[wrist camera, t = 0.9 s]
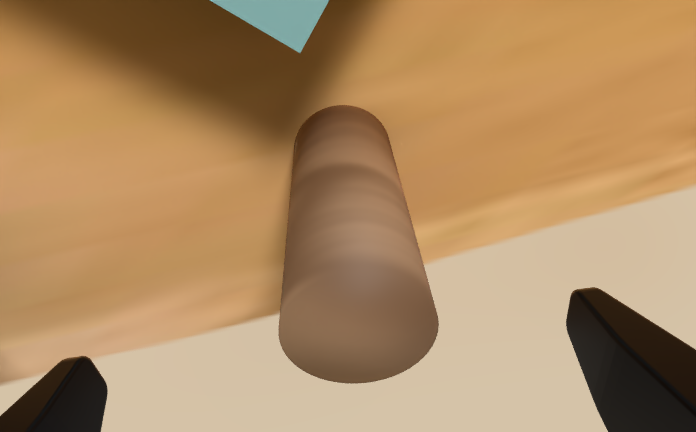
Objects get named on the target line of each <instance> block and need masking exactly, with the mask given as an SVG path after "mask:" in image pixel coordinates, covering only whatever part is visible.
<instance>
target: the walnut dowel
mask: <svg viewBox="0 0 696 432" xmlns="http://www.w3.org/2000/svg"><path fill="white" fill-rule="evenodd" d="M438 325H439V324H438V316H437V312H436V308H435V305H434V301H433V297H432V294H431V290H430V287H429V283H428V279H427V276H426V272H425V268H424V265H423V261H422V258H421V254H420V250H419V247H418V243H417V239H416V236H415V232H414V229H413V225H412V221H411V218H410V214H409V210H408V207H407V203H406V200H405V196H404V192H403V189H402V185H401V181H400V178H399V174H398V171H397V167H396V163H395V160H394V156H393V152H392V149H391V145H390V142H389V138H388V134H387V132H386V130H385V128H384V126H383V125H382V123H381V122H380V121H379V120H378V119H377V118H376V117H375V116H374V115H372V114H371V113H369V112H368V111H365V110H363V109H361V108H358V107H354V106H347V105H339V106H332V107H328V108H325V109H322V110H320V111H318V112H317V113H315V114H313V115H312V116H311V117H310V118H308V119H307V120H306V121H305V123H304V124H303V125H302V127H301V128H300V130H299V132H298V134H297V137H296V140H295V146H294V157H293V169H292V181H291V192H290V204H289V215H288V227H287V239H286V250H285V262H284V273H283V285H282V296H281V308H280V320H279V339H280V343H281V346H282V349H283V350H284V352H285V354H286V355H287V357H288V358H289V359H290V360H291V361H292V362H293V363H294V364H295V365H296V366H297V367H299V368H300V369H302V370H303V371H305V372H307V373H309V374H311V375H313V376H316V377H318V378H321V379H324V380H328V381H333V382H340V383H367V382H373V381H378V380H382V379H386V378H389V377H392V376H395V375H397V374H399V373H401V372H404V371H405V370H407V369H409V368H411V367H412V366H413V365H415V364H416V363H418V362H419V361H420V360H421V359H422V358H423V357H424V356H425V355H426V354H427V352H428V351H429V350H430V348H431V347H432V346H433V343H434V341H435V339H436V336H437V333H438Z"/></svg>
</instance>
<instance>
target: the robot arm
mask: <svg viewBox="0 0 696 432" xmlns="http://www.w3.org/2000/svg"><path fill="white" fill-rule="evenodd" d="M566 326H567V331H568V334H569V337H570V340H571V342H572V345H573V348H574V350H575V353H576V356H577V358H578V361H579V363H580V366H581V369H582V371H583V374H584V376H585V379H586V382H587V384H588V387H589V390H590V392H591V395H592V398H593V400H594V402H595V405H596V407H597V410H598V412H599V414H600V416H601V418H602V420H603V422H604V424H605V426H606V428H607V430H608V432H696V350H695V349H694V348H692V347H690V346H689V345H688V344H686V343H684V342H683V341H681V340H680V339H678V338H677V337H675V336H673V335H672V334H670V333H669V332H667V331H665V330H664V329H662V328H661V327H659V326H658V325H656V324H654V323H653V322H651V321H650V320H648V319H646V318H645V317H643V316H642V315H640V314H639V313H637V312H635V311H634V310H632V309H631V308H629V307H627V306H626V305H624V304H623V303H621V302H619V301H618V300H616V299H615V298H613V297H612V296H610V295H609V294H607V293H605V292H604V291H602V290H601V289H598V288H595V287H592V288H584V289H577V290H574V291H573V292H572V294H571V297H570V303H569V309H568V314H567V319H566ZM106 399H107V385H106V382H105V381H104V379H103V377H102V376H101V374H100V373H99V371H98V370H97V368H96V367H95V365H94V364H93V362H92V361H91V359H90V358H88V357H86V356H80V357H73V358H67V359H64V360H62V361H61V362H59V363H58V364H57V365H56V366H55V367H54V368H53V369H52V370H50V371H49V372H48V373H47V374H46V375H45V376H44V377H43V378H42V379H41V380H40V381H38V383H36V384H35V385H34V386H33V387H32V388H31V389H30V390H28V391H27V392H26V393H25V394H24V395H23V396H22V397H21V398H20V399H19V400H18V401H16V402H15V403H14V404H13V405H12V406H11V407H10V408H9V409H8V410H7V411H5V412H4V413H3V414H2V415H1V416H0V432H101V427H102V421H103V415H104V410H105V405H106Z"/></svg>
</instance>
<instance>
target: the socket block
mask: <svg viewBox="0 0 696 432" xmlns="http://www.w3.org/2000/svg"><path fill="white" fill-rule="evenodd" d="M210 1H212V2H213V3H215V4H217V5H218V6H220V7H222V8H224V9H225V10H227V11H229V12H230V13H232V14H234V15H236V16H237V17H239V18H241V19H242V20H244V21H246V22H248V23H249V24H251V25H253V26H254V27H256V28H258V29H259V30H261V31H263V32H265V33H266V34H268V35H270V36H271V37H273V38H275V39H277V40H278V41H280V42H282V43H283V44H285V45H287V46H289V47H290V48H292V49H294V50H295V51H297V52H299V53H301V51H302V49H303V47H304V45H305V43H306V42H307V40H308V38H309V36H310V34H311V32H312V31H313V29H314V27H315V25H316V23H317V22H318V20H319V18H320V16H321V14H322V12H323V11H324V9H325V7H326V5H327V3H328V1H329V0H210Z"/></svg>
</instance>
